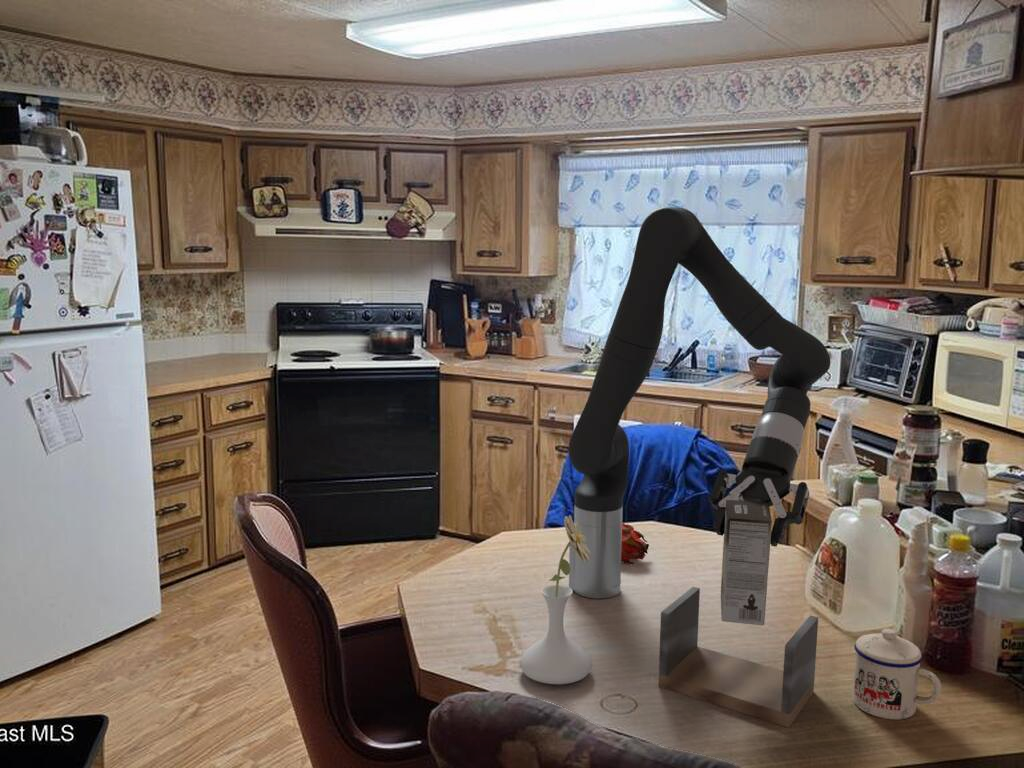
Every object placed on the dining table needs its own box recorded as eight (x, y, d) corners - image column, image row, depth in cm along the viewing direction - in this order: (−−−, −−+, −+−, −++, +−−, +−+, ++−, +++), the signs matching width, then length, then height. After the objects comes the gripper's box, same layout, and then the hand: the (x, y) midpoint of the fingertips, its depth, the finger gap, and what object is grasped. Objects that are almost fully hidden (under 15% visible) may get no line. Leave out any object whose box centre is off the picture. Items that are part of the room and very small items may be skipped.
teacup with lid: (840, 705, 128) (846, 631, 126) (864, 683, 134) (869, 612, 132) (926, 737, 120) (933, 658, 118) (947, 711, 126) (954, 636, 124)
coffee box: (719, 597, 135) (725, 498, 133) (761, 601, 134) (768, 501, 131) (720, 622, 127) (727, 516, 124) (766, 627, 125) (773, 520, 123)
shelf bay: (658, 685, 133) (660, 612, 131) (690, 655, 143) (692, 586, 141) (788, 727, 122) (793, 647, 120) (813, 691, 132) (818, 617, 130)
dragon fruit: (605, 556, 192) (644, 581, 183) (585, 542, 187) (623, 566, 177) (626, 524, 193) (665, 546, 184) (606, 508, 188) (645, 531, 179)
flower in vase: (570, 699, 129) (572, 538, 125) (505, 679, 135) (506, 525, 131) (608, 664, 140) (612, 515, 136) (547, 646, 146) (548, 503, 142)
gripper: (725, 429, 138) (693, 517, 131) (816, 440, 130) (788, 535, 123) (736, 454, 144) (706, 541, 136) (824, 467, 135) (797, 560, 128)
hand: (745, 538), depth 130 cm, fingers closed on coffee box, 8 cm apart
